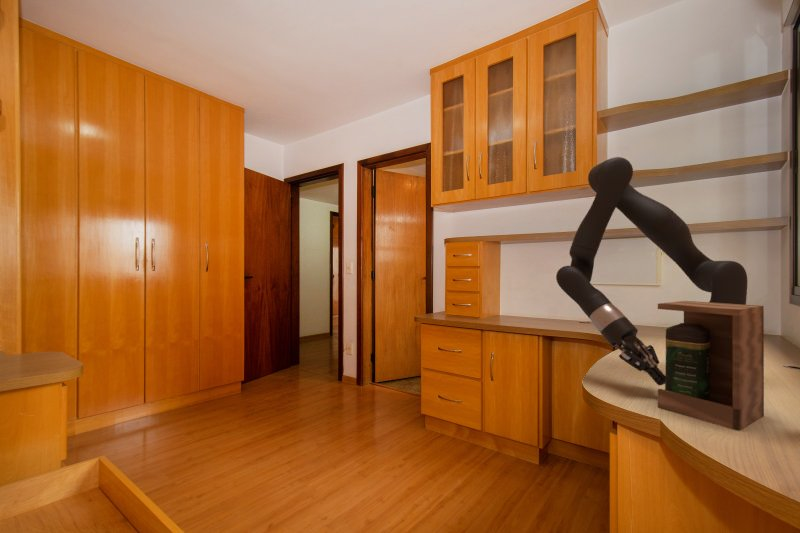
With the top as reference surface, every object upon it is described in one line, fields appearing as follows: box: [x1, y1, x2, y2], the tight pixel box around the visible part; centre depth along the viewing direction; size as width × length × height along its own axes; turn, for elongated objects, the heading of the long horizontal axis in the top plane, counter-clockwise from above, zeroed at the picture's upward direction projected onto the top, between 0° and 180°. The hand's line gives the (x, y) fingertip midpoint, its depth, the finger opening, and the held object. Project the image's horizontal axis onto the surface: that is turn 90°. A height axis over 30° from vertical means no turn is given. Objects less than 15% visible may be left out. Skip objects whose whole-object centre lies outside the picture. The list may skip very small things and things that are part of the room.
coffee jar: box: [664, 322, 710, 401], centre depth 84 cm, size 10×8×19 cm
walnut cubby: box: [657, 300, 765, 431], centre depth 81 cm, size 14×14×23 cm
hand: (664, 383), depth 88 cm, fingers closed
